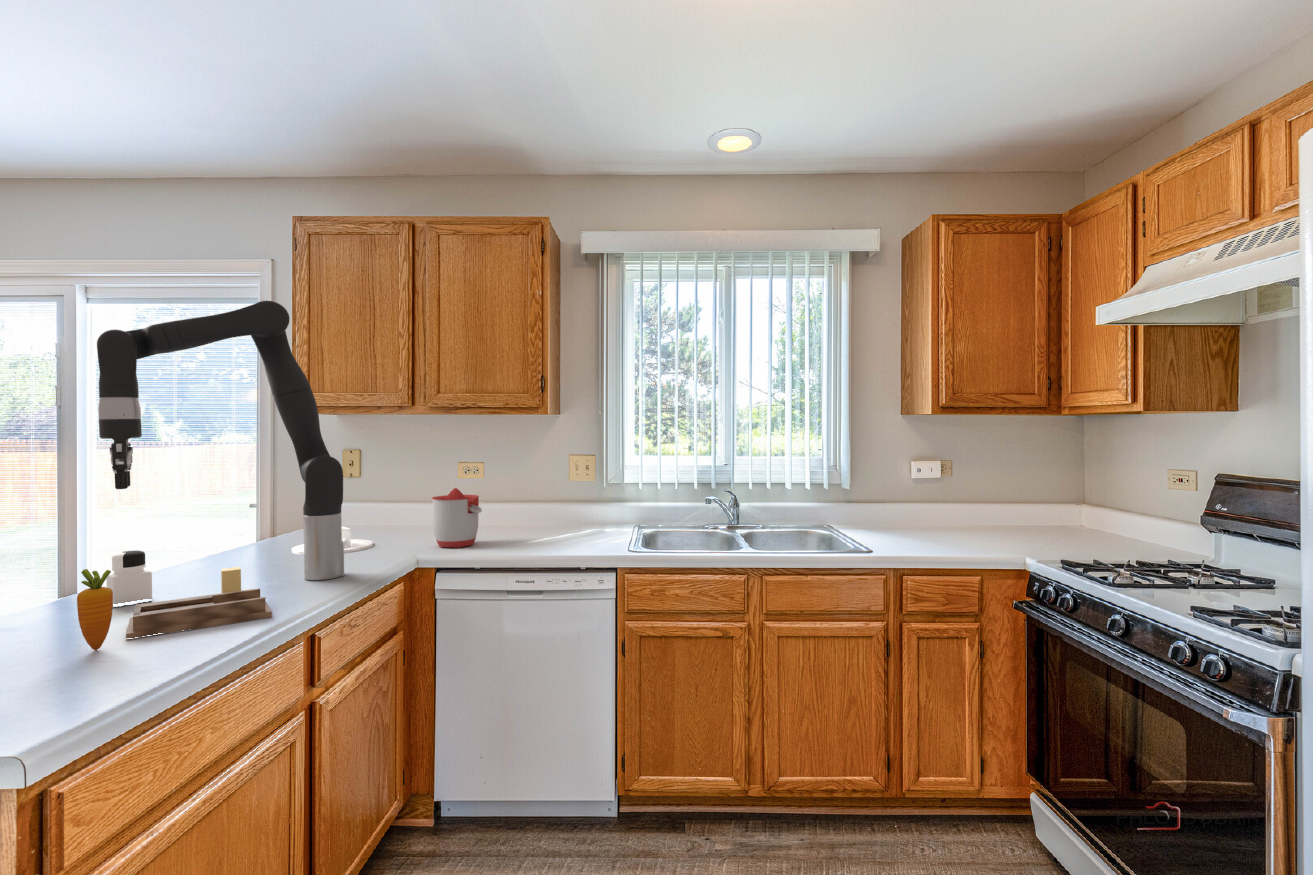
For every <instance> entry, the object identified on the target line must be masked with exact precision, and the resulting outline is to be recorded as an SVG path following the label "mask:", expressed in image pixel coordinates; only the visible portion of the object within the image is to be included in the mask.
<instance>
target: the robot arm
mask: <svg viewBox="0 0 1313 875" xmlns="http://www.w3.org/2000/svg"><path fill="white" fill-rule="evenodd" d="M289 324H290V315H289V312H288V310H287V308H285V307H284V305H282V304H280V303H278V302H276V301H272V300H261V301H258V302H255V303H253V304H251V305H247V306H244V307H241V308H239V309H235V310H231V311H227V312H222V313H218V314H217V313H216V314H212V315H205V316H198V317H193V318H184V319H178V320H172V321H165V322H161V323H160V322H159V323H155V324H151V325H148V326H146V327H144V328H138V329H132V330H126V331H125V330H121V329H108V330H106V331H103V332H102V333H101V334H100V335H99V336H98V338H97V341H96V351H97V360H98V362H97V363H98V368H99V369H98V370H99V378H98V398H99V399H98V401H99V402H98V410H97V411H98V432H99V438H100V439H103V440H104V439H105V440H106V439H112V440H113V442H112V443H111V445H110V447H109V454H110V463H111V465H112V466H111V469H112V472H113V474H114V488H115V489H116V490H126V489H128V487H130V486H131V470H132V463H133V454H134V446H133V445H132V444H131V442H129V440H130V439H139V438H142V436H143V435H142V434H143V433H142V412H141V410H142V409H141V403H140V397H139V396H140V394H139V383H138V382H139V381H138V376H137V368H138V367H137V363H138V362H137V361H138V360H139V359H144V358H149V357H152V356H156V355H159V354H169V353H174V352H179V351H185V350H189V349H194V348H199V347H202V346H205V345H209V344H213V343H216V342H220V341H223V340H228V339H233V338H239V337H245V336H246V337H247V336H250V337H251V339H252V340H253V343H254V345H255V347H256V349H257V352H258V353H259V355H260V357H261V360H262V363H263V366H264V371H265V374H266V375H265V376H266V378H267V382H268V385H269V388H270V391H271V395H272V397H273V400H274V403H275V406H276V408H277V410H278V413H279V416H280V417H281V420H282V422H283V424H284V428H285V430H286V432H287V434H288V436H289V437H290V440H291V442H292V445H293V448H294V452H295V456H296V459H297V464H298V467H299V468H298V469H299V474H300V477H301V479H302V481H303V482H304V486H305V487H304V488H305V489H304V490H305V492H304V493H305V498H304V504H303V507H302V512H303V516H302V518H303V520H302V521H303V544H304V555H303V563H304V564H303V574H304V579H305V580H307V581H323V580H331V579H335V578H340V577H344V576H345V553H344V542H343V541H342V526H343V525H342V506H343V503H344V502H343V501H344V469H343V467H342V464H341V463H340V461H339V460H338V459H336V458H335V457H333V456H331V454H330V453H329V451H328V449H327V447H326V444H325V442H324V439H323V436H322V432H321V427H320V418H319V411H318V404H317V401H316V398H315V396H314V393H313V389H312V388H311V387H312V386H311V384H310V382H309V380H308V378H307V376H306V374H305V372H304V370H303V369H302V368H301V366H300V364H299V363H298V362H297V360H296V358H295V357H294V355H293V352H292V350H291V347H290V343H289V339H288V336H287V332H286V330H287V329H288V327H289Z"/></svg>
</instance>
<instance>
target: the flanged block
mask: <svg viewBox="0 0 1313 875" xmlns="http://www.w3.org/2000/svg"><path fill="white" fill-rule="evenodd" d="M220 570H221V571H220V572H221V573H220V578H221V579H220V580H221V582H220V584H221V589H220V590H221V593H228V592H235V591H242V569H241V567H240V566H234V567H226V568H220Z"/></svg>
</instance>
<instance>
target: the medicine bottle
mask: <svg viewBox="0 0 1313 875" xmlns="http://www.w3.org/2000/svg"><path fill="white" fill-rule="evenodd" d="M105 581H106V582H105V583H106V587H107V588H110V589H112V591H113V604H118V603H125V602H131V601H137V600H143V599H152V600H153V572H152V571H150V570H148V569H146V553H145V552H144V551H143V550H137V549H136V550H127V551H126V550H125V551H119V552H117V553H114V554H113V555H112V556H111V573H110V574H109V575H108V577H107V578H106V580H105Z"/></svg>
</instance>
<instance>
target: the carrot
mask: <svg viewBox="0 0 1313 875" xmlns="http://www.w3.org/2000/svg"><path fill="white" fill-rule="evenodd" d="M111 572H112V570H110V569H106V570H105V571H104V572H103V573H102V575H100V574H99V572H98V571H97V570H93V571H91V572H90V570H89V569H87V568H84V569H82V570H81V572H80V573H81V574H82V576H83V578H85V580H82V581H80V583H81V584H83V585H84V586H87V587H88V588H85V589H84V590H81V592H79V593H78V594H77V596H76V606H77V607H76V608H77V617H78V618H77V619H78V624H79V627H80V629H81V633H82V636H83V639H84V640H85V642H86V643H87V644H88V645H89V647H90V648H91V649H92V650H94V651H95V650H97V649H98V650H99V649H101V647H102V645H103V643H104V642H105V640H106V638H107V636H108V634H109V631H110V627H111V622H112V617H113V609H114V607H113V591H112V589H110V588H107V586H103V585H104V583H105V581H106V578H107V577H108V575H109V574H110V573H111ZM91 573H92V574H91ZM98 650H97V651H98Z"/></svg>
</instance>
